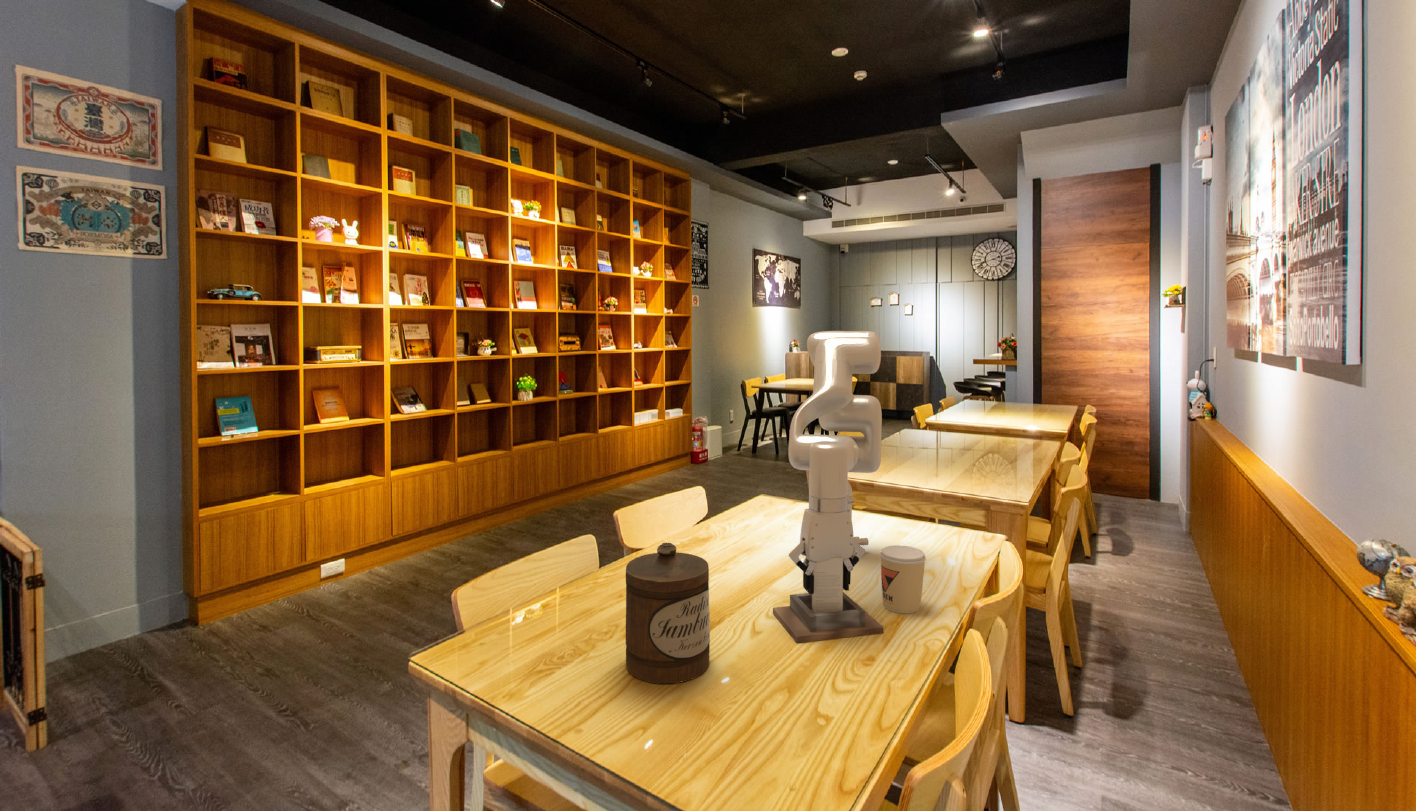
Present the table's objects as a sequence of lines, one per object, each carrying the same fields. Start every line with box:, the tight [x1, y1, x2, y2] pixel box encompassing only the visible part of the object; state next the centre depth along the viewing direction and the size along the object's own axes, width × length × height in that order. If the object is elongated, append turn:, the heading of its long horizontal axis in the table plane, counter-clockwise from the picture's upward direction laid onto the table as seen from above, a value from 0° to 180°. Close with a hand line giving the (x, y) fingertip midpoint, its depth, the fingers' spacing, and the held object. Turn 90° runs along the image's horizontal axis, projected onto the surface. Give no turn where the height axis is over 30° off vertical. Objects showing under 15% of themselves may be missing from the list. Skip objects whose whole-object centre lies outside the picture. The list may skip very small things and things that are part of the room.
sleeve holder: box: [772, 591, 885, 644], centre depth 136 cm, size 18×14×4 cm
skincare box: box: [812, 558, 844, 614], centre depth 136 cm, size 6×4×12 cm
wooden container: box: [625, 542, 711, 684], centre depth 119 cm, size 15×15×22 cm
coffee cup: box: [879, 545, 927, 614], centre depth 144 cm, size 9×9×12 cm
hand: (826, 589), depth 136 cm, fingers closed on skincare box, 6 cm apart
